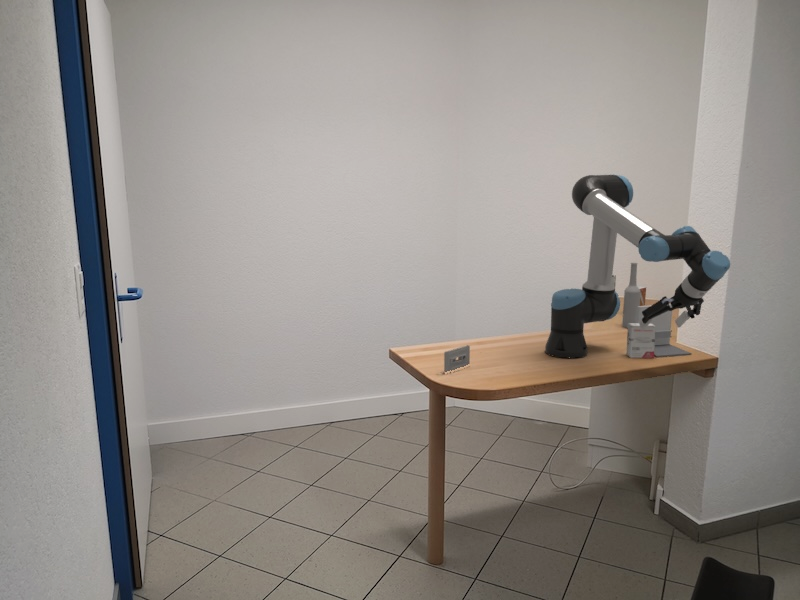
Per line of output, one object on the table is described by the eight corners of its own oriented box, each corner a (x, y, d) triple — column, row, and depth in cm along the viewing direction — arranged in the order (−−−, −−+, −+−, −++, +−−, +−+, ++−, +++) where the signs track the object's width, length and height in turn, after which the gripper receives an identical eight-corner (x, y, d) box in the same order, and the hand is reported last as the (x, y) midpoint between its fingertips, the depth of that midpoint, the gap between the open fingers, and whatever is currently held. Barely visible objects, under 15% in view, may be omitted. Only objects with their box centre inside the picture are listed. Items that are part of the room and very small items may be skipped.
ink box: (649, 354, 216) (651, 322, 214) (654, 358, 211) (656, 325, 209) (625, 353, 217) (627, 322, 215) (629, 357, 212) (631, 325, 210)
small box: (637, 316, 276) (639, 289, 273) (624, 314, 280) (625, 287, 278) (644, 313, 281) (646, 286, 279) (631, 311, 286) (633, 285, 283)
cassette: (466, 365, 206) (466, 344, 205) (470, 367, 205) (470, 345, 203) (443, 373, 198) (443, 351, 197) (447, 374, 197) (447, 352, 195)
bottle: (621, 327, 255) (625, 263, 250) (622, 324, 261) (626, 261, 255) (637, 329, 252) (642, 264, 247) (638, 325, 258) (643, 262, 253)
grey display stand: (656, 357, 212) (659, 314, 209) (628, 344, 229) (631, 304, 226) (691, 354, 214) (694, 311, 211) (661, 342, 232) (664, 302, 228)
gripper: (661, 301, 180) (630, 337, 198) (732, 297, 185) (696, 332, 202) (651, 281, 185) (622, 318, 202) (721, 278, 189) (687, 314, 206)
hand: (659, 325), depth 202 cm, fingers open, 13 cm apart
